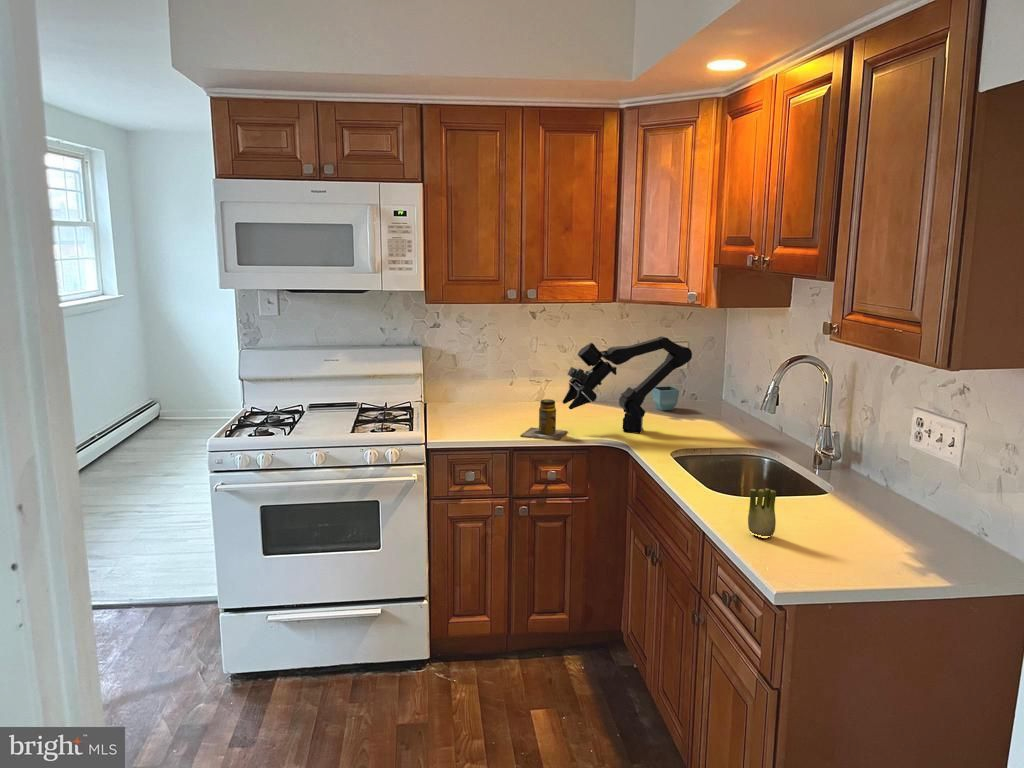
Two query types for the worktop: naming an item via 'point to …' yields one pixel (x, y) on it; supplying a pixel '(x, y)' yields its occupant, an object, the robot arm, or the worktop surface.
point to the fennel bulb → (762, 512)
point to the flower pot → (665, 397)
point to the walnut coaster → (550, 437)
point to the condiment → (547, 418)
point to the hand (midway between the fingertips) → (566, 405)
